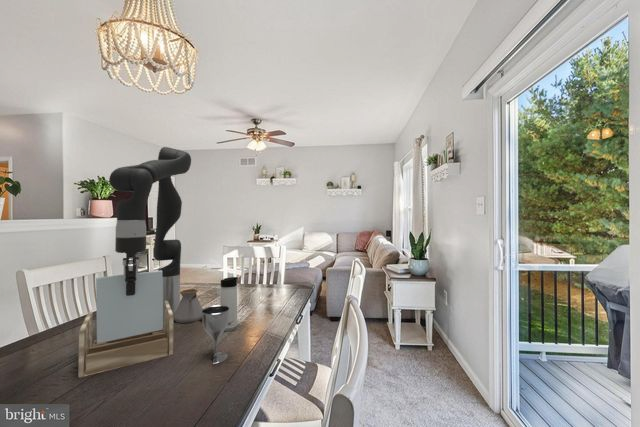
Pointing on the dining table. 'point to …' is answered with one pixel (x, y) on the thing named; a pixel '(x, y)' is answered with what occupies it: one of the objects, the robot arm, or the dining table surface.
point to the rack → (123, 347)
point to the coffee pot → (188, 307)
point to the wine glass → (216, 327)
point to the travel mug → (229, 300)
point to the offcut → (129, 337)
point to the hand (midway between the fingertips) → (130, 294)
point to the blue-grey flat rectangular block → (129, 306)
